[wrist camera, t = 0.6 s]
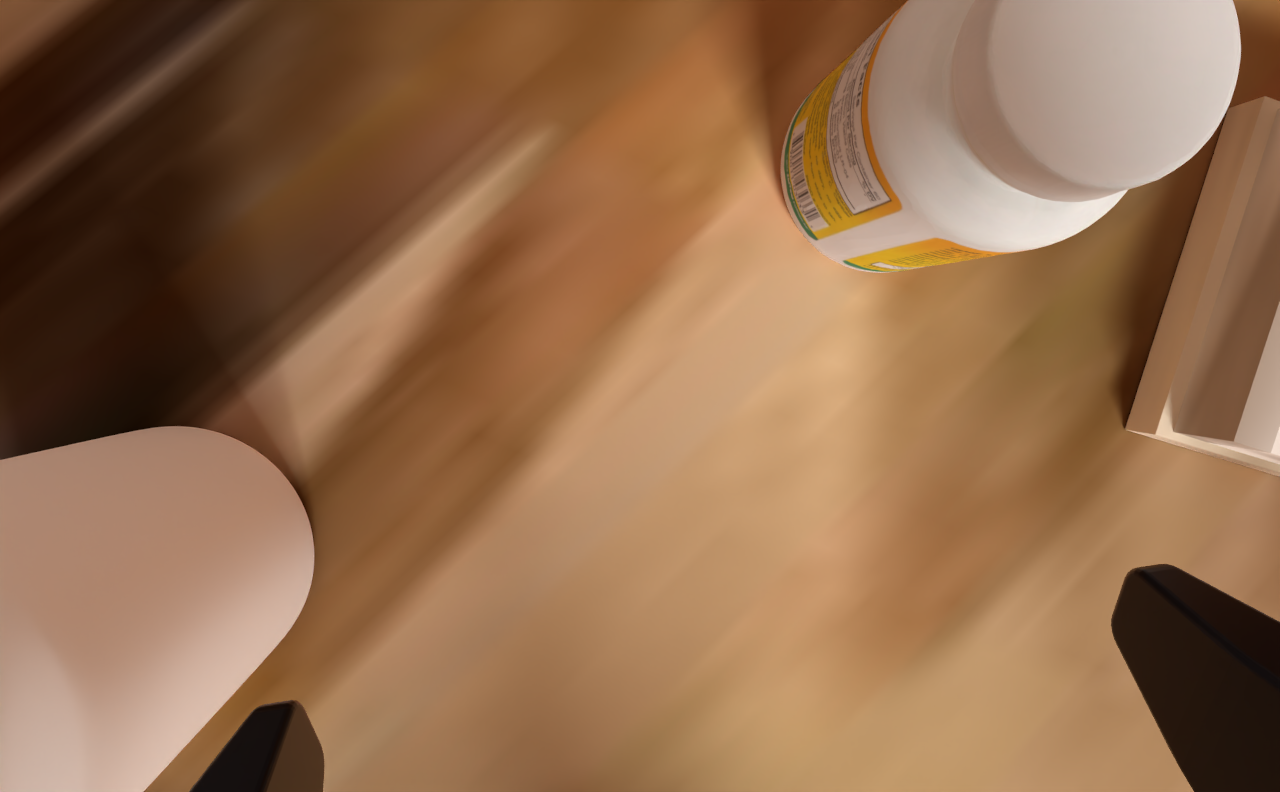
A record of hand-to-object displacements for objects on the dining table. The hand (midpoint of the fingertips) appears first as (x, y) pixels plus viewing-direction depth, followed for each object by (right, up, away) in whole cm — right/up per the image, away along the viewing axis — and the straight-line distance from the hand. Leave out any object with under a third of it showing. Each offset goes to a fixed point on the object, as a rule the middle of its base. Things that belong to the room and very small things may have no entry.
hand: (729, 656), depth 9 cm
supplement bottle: (+5, +9, +13) cm, 17 cm away
